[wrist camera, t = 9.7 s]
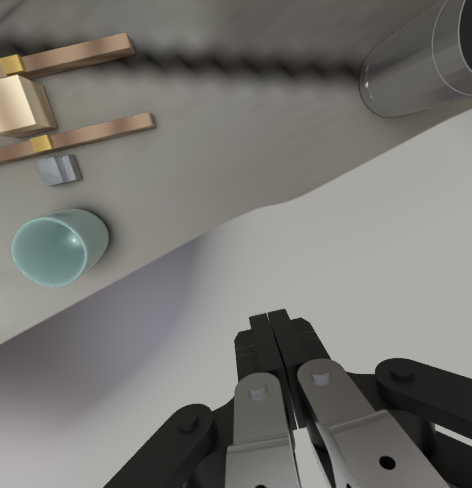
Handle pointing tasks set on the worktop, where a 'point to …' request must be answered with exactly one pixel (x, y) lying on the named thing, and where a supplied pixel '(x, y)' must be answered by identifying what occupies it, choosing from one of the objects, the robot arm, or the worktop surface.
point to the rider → (24, 108)
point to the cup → (59, 246)
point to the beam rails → (68, 61)
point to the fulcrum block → (59, 170)
